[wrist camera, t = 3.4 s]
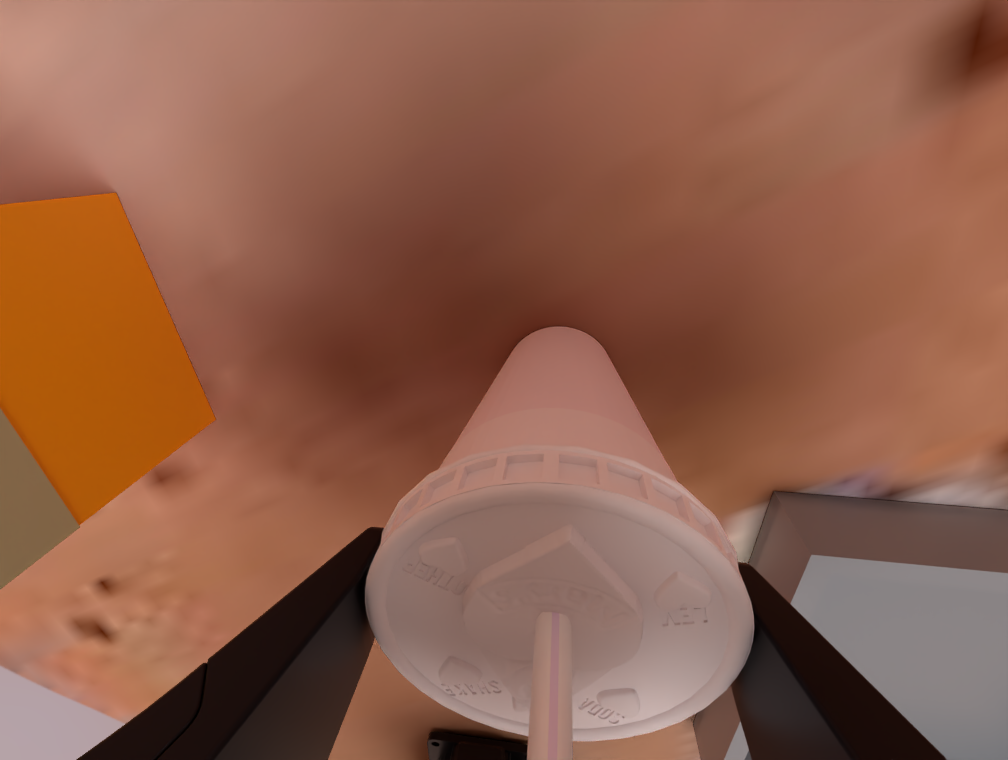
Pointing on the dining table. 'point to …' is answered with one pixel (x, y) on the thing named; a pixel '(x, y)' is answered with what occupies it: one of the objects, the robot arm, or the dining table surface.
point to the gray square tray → (894, 612)
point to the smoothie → (559, 565)
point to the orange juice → (81, 371)
